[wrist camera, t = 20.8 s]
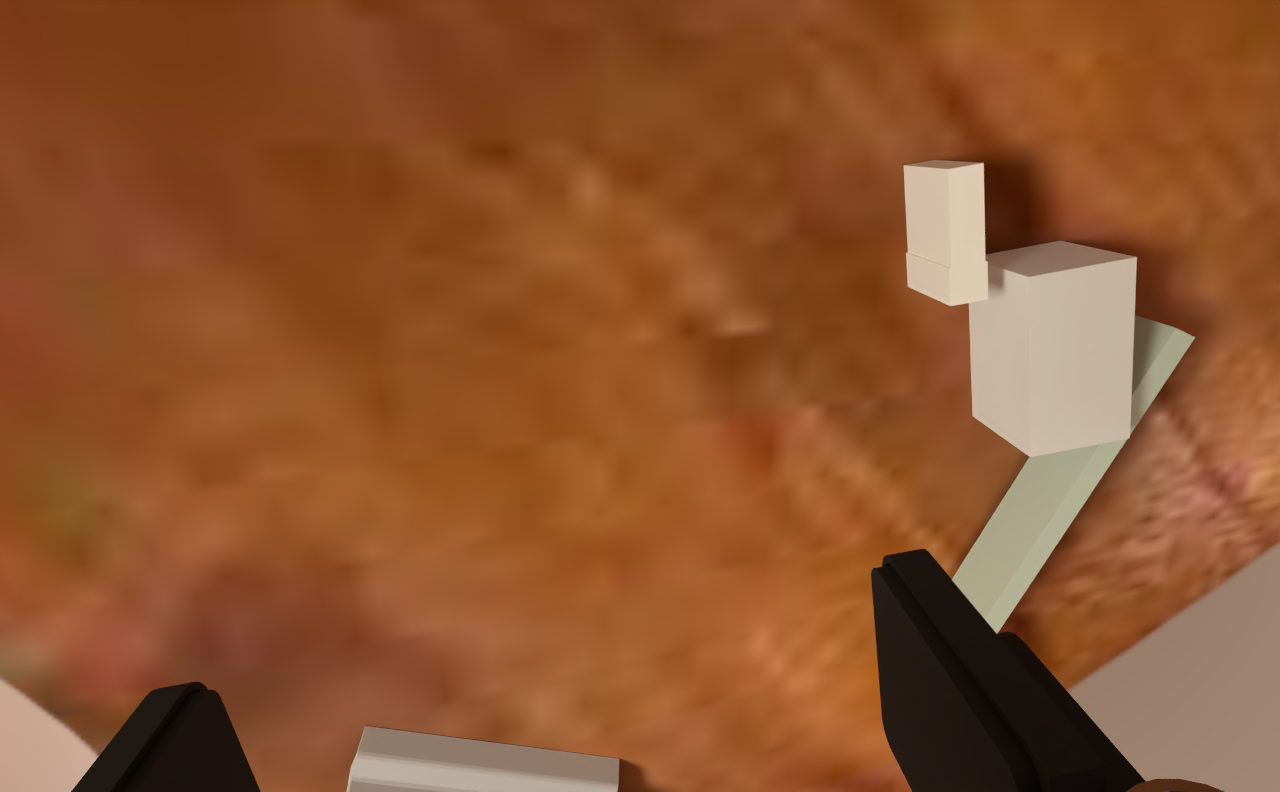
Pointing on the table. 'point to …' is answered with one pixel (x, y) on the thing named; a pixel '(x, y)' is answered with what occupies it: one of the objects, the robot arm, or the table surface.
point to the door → (1057, 490)
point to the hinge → (472, 766)
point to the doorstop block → (1055, 347)
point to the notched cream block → (946, 230)
